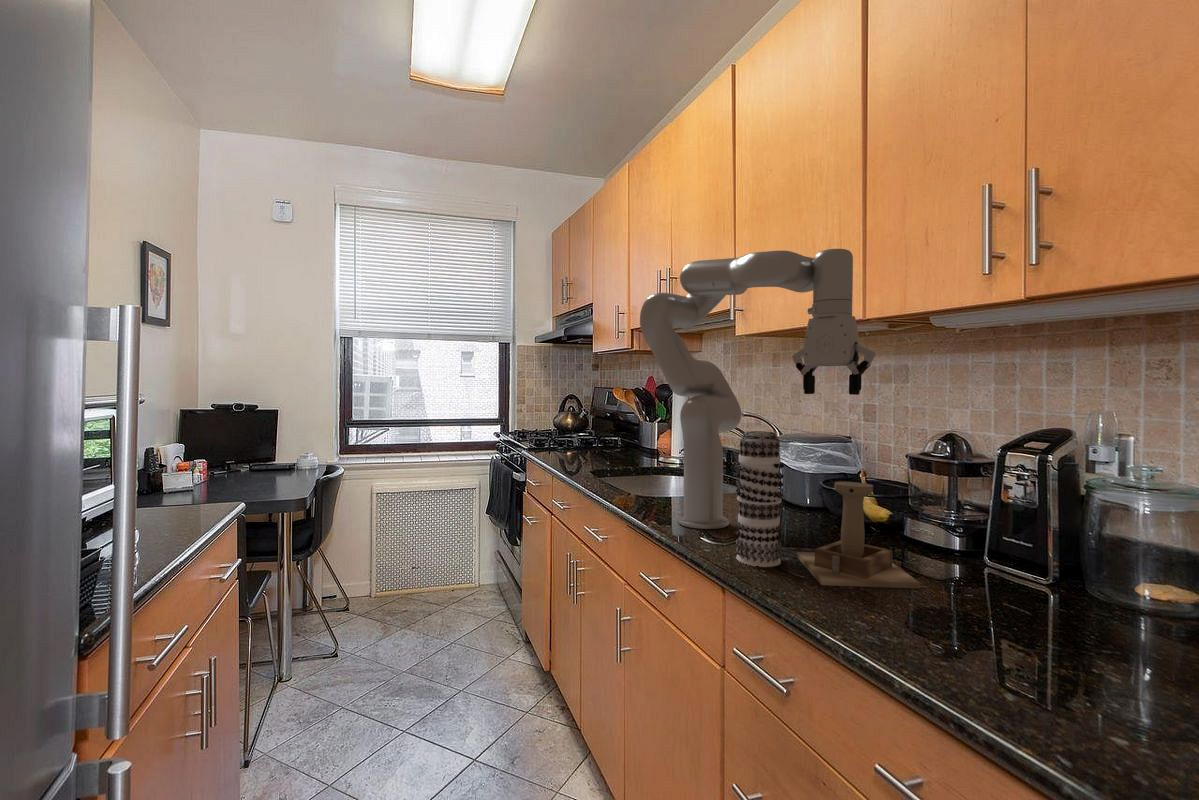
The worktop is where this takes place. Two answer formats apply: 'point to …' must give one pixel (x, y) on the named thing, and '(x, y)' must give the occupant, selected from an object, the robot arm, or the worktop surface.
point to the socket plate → (849, 580)
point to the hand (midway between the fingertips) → (831, 394)
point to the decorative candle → (759, 499)
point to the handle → (853, 516)
